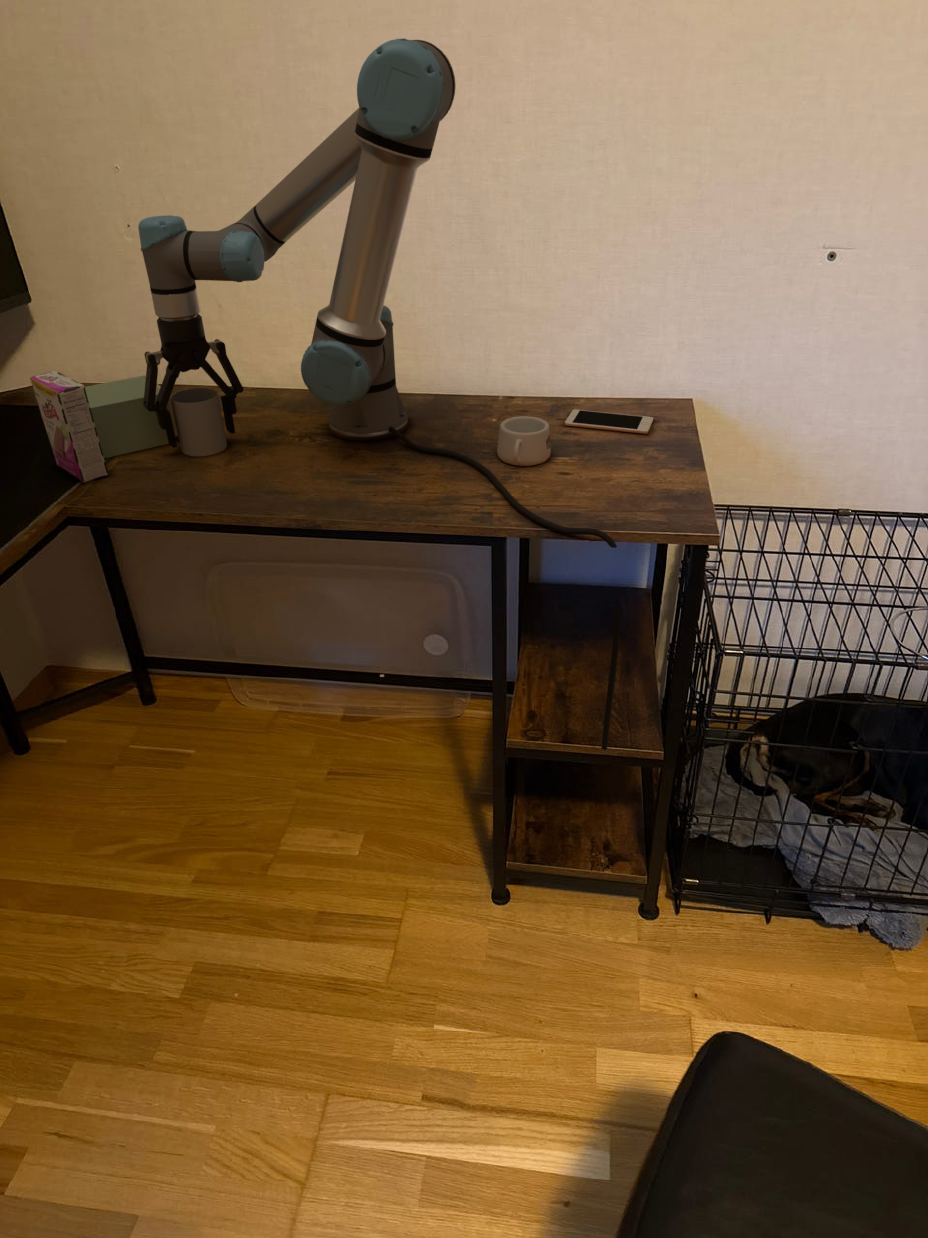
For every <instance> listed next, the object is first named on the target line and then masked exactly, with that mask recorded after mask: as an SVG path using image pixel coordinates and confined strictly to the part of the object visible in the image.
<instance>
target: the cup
mask: <svg viewBox="0 0 928 1238" xmlns="http://www.w3.org/2000/svg"><path fill="white" fill-rule="evenodd" d="M220 402H221V401H220V398H219V392H218V391H217V390H216V389H214V388H209V387H191V388H185V389H181V390H179V391H176V392H174V393H172V394H171V404H172V409H173V414H174V418H175V423H176V428H177V433H178V436H177V438H178V442H179V447H180V451H181V453H183V454H184V455H186V456H190V457H207V456H211V455H216V454H218V453H221V452H223V451H224V450H226V448H227V447H228V442H227V437H226V436H227V435H226V431H225V424H224V419H223V414H222V409H221V404H220Z"/></svg>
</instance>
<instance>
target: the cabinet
mask: <svg viewBox="0 0 928 1238" xmlns="http://www.w3.org/2000/svg"><path fill="white" fill-rule="evenodd" d="M145 381H146V375H140V376H134V377H128V378H123V379H119V380H113V381H108V382H107V381H106V382H102V383H97V384H92V385H88V386H87V385H85V390H86V394H87V398H88V401H89V405H90V408H91V412H92V416H93V419H94V423H95V427H96V431H97V434H98V438H99V442H100V445H101V449H102V453H103V456H104V459H108V458H113V457H117V456H121V455H126V454H129V453H134V452H139V451H143V450H147V449H152V448H156V447H162V446H164V445H170V444H169V442H168V438H167V433H166V429H165V430H163V429H162V428H161V427H160V426H159V423H158V418H157V414H156V412H155V411H152V412H150V411H148V410H147V409H146V408H145V407H144V405H143V402H144V392H145ZM159 390H160V389H159V388H158V387H157V386H156V396H155V402H156V399H157V396H158V393H159ZM166 409H167V410H168V407H167V406H166Z"/></svg>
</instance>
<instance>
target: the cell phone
mask: <svg viewBox="0 0 928 1238" xmlns="http://www.w3.org/2000/svg"><path fill="white" fill-rule="evenodd" d="M653 422H654V417H653V416H647V415H646V416H645V415H637V414H636V415H635V414H626V413H617V412H616V413H615V412H608V411H607V412H605V411H597V410H587V409H585V410H584V409H574V408H573V409H572V411H570V413H569V415H568V417H567V418H566V420H564V426H568V427H578V428H588V429H595V430H596V429H597V430H604V431H605V430H607V431H615V432H626V433H634V434H644V435H647V434H649V432H650V429H651V427H652V426H653V425H652V424H653Z"/></svg>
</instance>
